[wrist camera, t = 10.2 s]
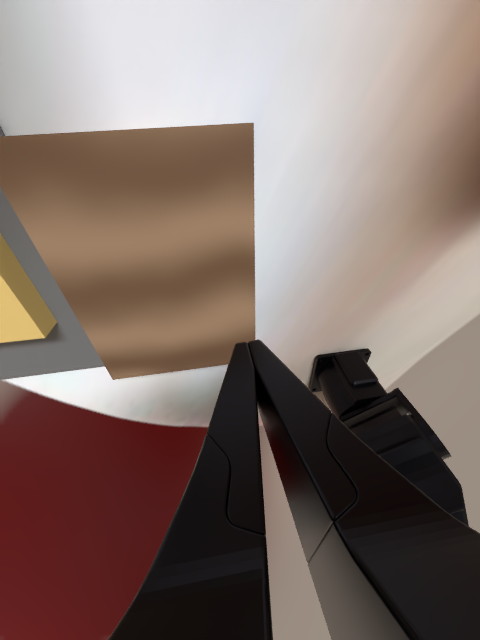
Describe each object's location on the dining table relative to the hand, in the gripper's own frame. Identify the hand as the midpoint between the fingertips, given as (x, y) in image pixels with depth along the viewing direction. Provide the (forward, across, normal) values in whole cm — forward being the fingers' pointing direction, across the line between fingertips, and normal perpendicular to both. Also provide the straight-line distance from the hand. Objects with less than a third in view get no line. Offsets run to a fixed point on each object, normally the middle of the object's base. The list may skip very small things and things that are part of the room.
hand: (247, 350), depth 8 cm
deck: (+12, +4, +2) cm, 13 cm away
